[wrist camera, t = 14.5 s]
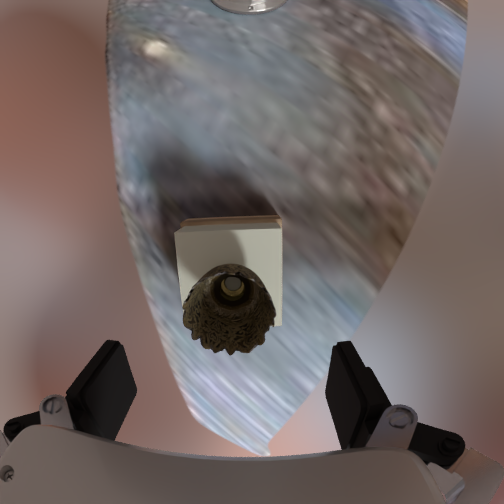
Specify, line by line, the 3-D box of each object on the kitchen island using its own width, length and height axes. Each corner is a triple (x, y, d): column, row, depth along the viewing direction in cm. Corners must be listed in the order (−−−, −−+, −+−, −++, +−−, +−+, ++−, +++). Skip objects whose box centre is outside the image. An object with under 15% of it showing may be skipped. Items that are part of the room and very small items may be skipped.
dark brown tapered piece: (244, 325, 30) (244, 369, 22) (186, 293, 29) (167, 330, 21) (281, 271, 28) (294, 303, 21) (220, 235, 27) (209, 255, 20)
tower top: (184, 226, 32) (174, 232, 27) (277, 222, 32) (281, 228, 27) (192, 310, 34) (185, 327, 30) (278, 308, 34) (281, 325, 30)
